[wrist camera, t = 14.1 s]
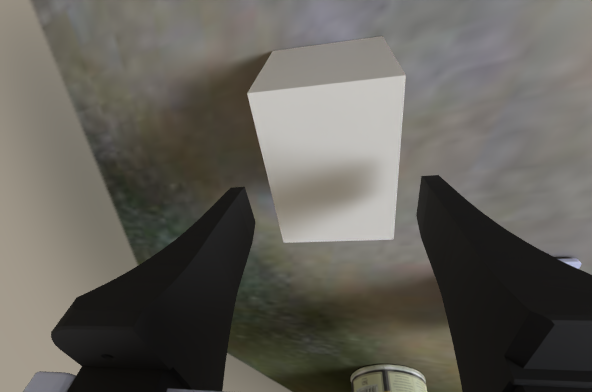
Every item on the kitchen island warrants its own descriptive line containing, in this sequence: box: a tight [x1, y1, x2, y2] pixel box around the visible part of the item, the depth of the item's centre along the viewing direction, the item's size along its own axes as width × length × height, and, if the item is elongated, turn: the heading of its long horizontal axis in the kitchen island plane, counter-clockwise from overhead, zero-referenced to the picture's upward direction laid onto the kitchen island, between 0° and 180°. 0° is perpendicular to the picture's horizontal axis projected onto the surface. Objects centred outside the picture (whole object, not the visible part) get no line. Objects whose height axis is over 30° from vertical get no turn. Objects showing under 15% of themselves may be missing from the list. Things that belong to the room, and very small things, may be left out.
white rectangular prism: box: [247, 36, 406, 243], centre depth 17 cm, size 9×6×7 cm
